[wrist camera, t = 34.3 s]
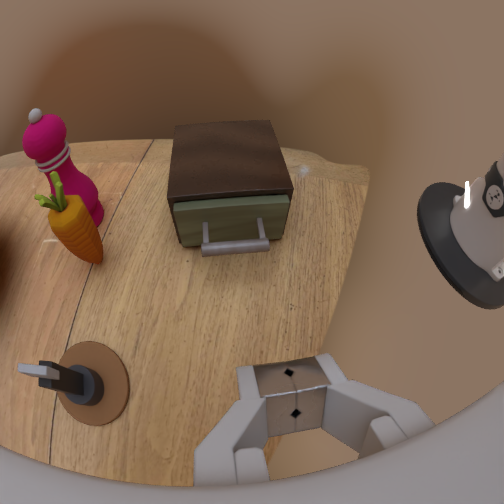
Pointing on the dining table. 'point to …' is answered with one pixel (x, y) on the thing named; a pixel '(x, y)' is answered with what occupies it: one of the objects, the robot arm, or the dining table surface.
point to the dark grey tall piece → (68, 381)
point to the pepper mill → (59, 160)
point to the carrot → (72, 223)
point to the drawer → (231, 223)
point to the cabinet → (226, 162)
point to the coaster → (113, 380)
